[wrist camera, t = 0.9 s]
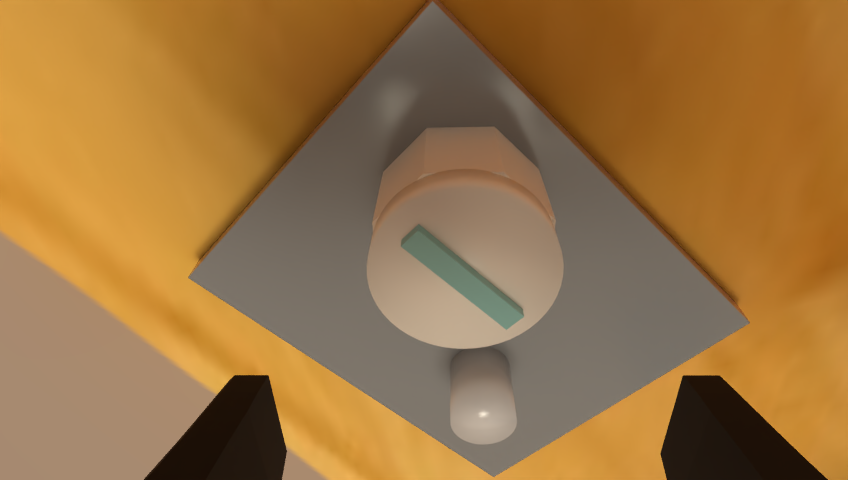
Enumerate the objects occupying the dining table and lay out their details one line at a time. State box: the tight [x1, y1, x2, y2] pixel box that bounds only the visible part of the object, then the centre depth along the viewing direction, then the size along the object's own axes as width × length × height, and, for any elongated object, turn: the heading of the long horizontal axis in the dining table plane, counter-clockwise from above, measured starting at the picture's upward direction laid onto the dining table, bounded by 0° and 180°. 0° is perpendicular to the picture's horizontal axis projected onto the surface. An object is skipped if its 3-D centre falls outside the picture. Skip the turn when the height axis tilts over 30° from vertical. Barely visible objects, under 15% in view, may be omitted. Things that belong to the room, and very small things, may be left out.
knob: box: [367, 126, 564, 349], centre depth 16 cm, size 5×5×4 cm
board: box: [188, 0, 750, 477], centre depth 19 cm, size 15×12×4 cm
